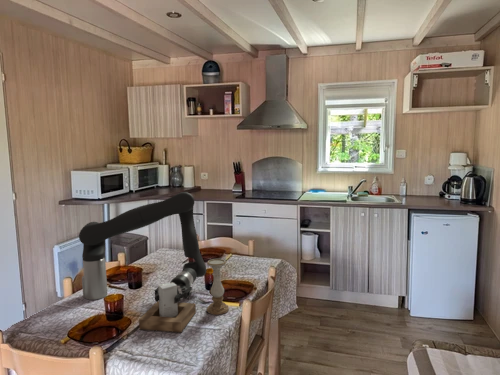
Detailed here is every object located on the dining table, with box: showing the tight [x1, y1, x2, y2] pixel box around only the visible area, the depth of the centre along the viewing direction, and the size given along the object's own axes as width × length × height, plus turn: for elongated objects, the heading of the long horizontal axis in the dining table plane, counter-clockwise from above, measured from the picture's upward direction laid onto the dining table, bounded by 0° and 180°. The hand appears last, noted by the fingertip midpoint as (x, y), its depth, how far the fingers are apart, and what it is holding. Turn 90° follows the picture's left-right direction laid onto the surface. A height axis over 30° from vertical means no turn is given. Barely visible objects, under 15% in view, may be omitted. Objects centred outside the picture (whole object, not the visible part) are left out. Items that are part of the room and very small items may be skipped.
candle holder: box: [206, 258, 230, 316], centre depth 148 cm, size 9×9×20 cm
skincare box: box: [157, 281, 178, 317], centre depth 140 cm, size 6×4×12 cm
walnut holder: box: [138, 301, 197, 334], centre depth 140 cm, size 16×16×4 cm
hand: (165, 299), depth 138 cm, fingers closed on skincare box, 7 cm apart
